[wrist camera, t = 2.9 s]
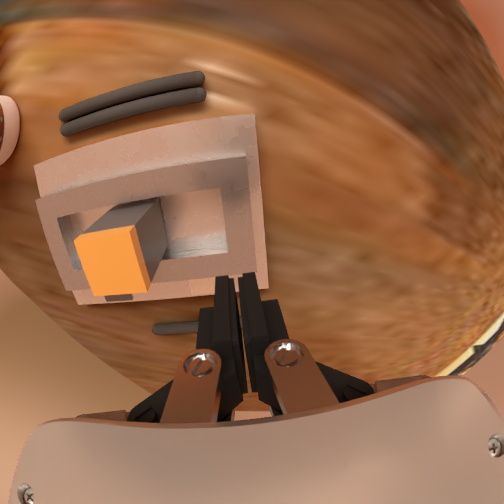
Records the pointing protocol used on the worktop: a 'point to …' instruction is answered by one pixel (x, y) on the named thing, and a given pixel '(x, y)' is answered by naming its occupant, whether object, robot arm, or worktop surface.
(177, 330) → the cord
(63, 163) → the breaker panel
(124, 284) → the block
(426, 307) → the worktop surface
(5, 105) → the milk bottle
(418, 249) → the worktop surface
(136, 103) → the cord
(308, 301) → the worktop surface
